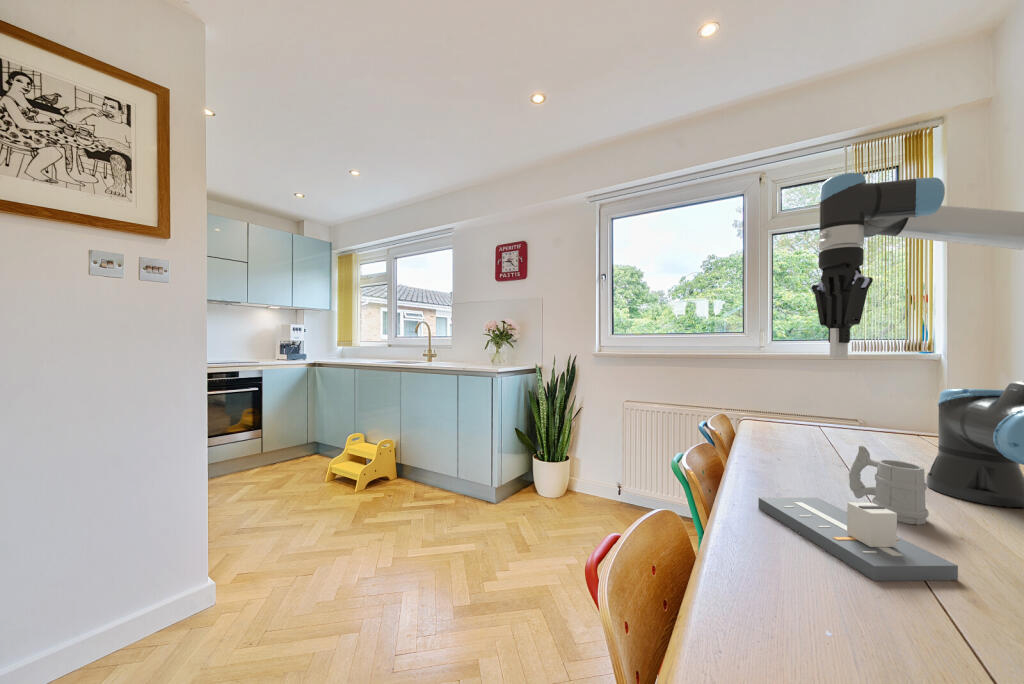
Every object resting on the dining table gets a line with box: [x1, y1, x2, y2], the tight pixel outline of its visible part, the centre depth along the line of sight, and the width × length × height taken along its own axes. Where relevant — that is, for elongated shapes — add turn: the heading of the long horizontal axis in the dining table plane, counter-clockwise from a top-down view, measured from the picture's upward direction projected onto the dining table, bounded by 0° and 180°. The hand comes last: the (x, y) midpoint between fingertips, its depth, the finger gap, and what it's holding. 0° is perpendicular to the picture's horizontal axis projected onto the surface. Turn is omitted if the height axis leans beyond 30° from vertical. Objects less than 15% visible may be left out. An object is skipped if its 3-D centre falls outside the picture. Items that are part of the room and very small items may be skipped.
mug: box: [848, 444, 929, 526], centre depth 78 cm, size 8×12×12 cm, turn 28°
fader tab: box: [846, 502, 898, 547], centre depth 62 cm, size 4×4×5 cm
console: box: [757, 497, 959, 582], centre depth 67 cm, size 12×24×2 cm, turn 3°
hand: (838, 358), depth 87 cm, fingers closed
